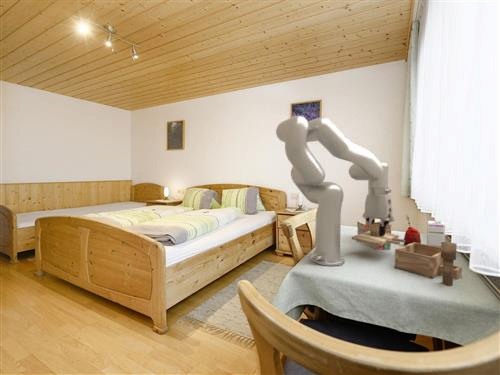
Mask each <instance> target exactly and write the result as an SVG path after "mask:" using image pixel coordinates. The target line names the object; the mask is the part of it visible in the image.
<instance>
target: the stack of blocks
mask: <svg viewBox="0 0 500 375" xmlns="http://www.w3.org/2000/svg"><path fill="white" fill-rule="evenodd" d="M356 222H357V225H356V227H357V231H356V232H357V235H359V234H362V233H365V232H368V231H370V225H369V223H368V221H367V220H366V219H365V221H360V220H359V221H356ZM376 222H381V221H380V219H377V218H375V223H376ZM386 233H390V234H392V223H391V222H390V223H389V224H387V226H386ZM367 245H368V246H370V247H371V248H374V249H375V250H376V251H391V249H392V248H391V246H392V243H385V244H382V245H380V246H375V245H370V244H367Z"/></svg>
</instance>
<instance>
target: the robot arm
mask: <svg viewBox="0 0 500 375" xmlns="http://www.w3.org/2000/svg"><path fill="white" fill-rule="evenodd" d="M275 134H276V137H277V139H278V140H280V141H281V142H283V143H284V151H285V155H286V158H287V160H288V161H289V163H290V164H291V166H292V167H291V169H290V176H291V180H292V182H293V183H294V184H295V186H296V188H298V190H299V191H300V193H301V194H302V195H303V196H304V197H305V199H306V200H308V201H309V202H310V203H312V204H315V205H317V208H316V212H315V240H314V241H315V248H314V249H313V253H311V254H308V255H307V259H308V260H309V261H310V260H311V261H312V262H314V263H315V264H318V265H321V266H322V265H323V266H327V267H328V266H329V267H331V266H333V267H334V266H340V265H343V264H345V258H344V257H343V256H342V255H341V217H342V216H341V214H342V206H343V201H344V190H343V188H342V187H341V186H340V185H339V184H338V183H337V182H332V181H324V180H325V178H326V171H325V169H324V167H323V166H322V165H321V164H320V162H319V161H318V160H317V158H316V157H315V155H313V153H312V151H311V150H310V148H309V147H308V146H309V145H308V143H311V142H318V143H320V145H322V146H323V147H324V148H325V150H326V151H327V152H329V153H330V154H331V156H332V157H335V158H337V159H340V160H342V161H348V162H350V163H352V165H351V166H350V167H349V168H348V174H349V177H350V178H351V179H352V180H356V181H368V183H367V184H368V186H367V188H368V189H367V191H368V192H367V194H366V197H365V200H364V201H365V203H364V212H363V214H362V216H361V217H362V218H363V219H365V221H366V220H367V221H368V223H369V225H370V224H372V223H375V219H379V220H380V221H381V226H380V236H383V235H385V233H386V226H387V224H389V223H390V224H391V223H394V222H395V221H396V220H395V218H394V216H393V202H392V197H391V195H390V194H391V193H392V189H389V164H388V163H387V162H385V161H384V162H381V161H380V160H379V159H378V158H377V157H376V156H375V155H374V154H373V153H372V151H369V150H368V149H367V148H365V147H363V146H361V145H359V144H357V143H355V142H353V141H351V140H350V139H349V138H348V137H347V136H346V135H345V134H344V133H343V132H342V130H340V129H339V128H338V127H337V126H336V125H335V123H334V122H333V121H332V120H331V119H330V118H328V117H325V116H320V117H317V118H313V119H312V120H309V121H308V120H307V118H306V117H304V116H303V115H294V116H292V117H290V118H288V119H285V120H283V121H281V122H280V123H279V124H277V127H276V131H275Z"/></svg>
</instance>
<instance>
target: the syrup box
mask: <svg viewBox="0 0 500 375" xmlns="http://www.w3.org/2000/svg"><path fill="white" fill-rule="evenodd" d="M445 231H446V225H445V222H444V221H439V220H438V221H437V220H428V221H427V235H426V237H427V239H426V241H427V243H426V245H431V246H436V247H441V242H446V240H445V239H446V233H445Z"/></svg>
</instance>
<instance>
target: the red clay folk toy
mask: <svg viewBox="0 0 500 375" xmlns="http://www.w3.org/2000/svg"><path fill="white" fill-rule="evenodd" d="M410 218H411V216H408V215H407V214H406V219H407V221H408V225H409V227H408V228H407V230H406V231H405V233H404V238H403V240H405V242H404V243H403V246H405V245H408V244H411V243H413V242H415V243H421V244H422V240H421V233H420V232H419V231H418V229H416V228H414V227H412V226H411V225H410V224H411V222H410V220H409V219H410Z"/></svg>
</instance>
